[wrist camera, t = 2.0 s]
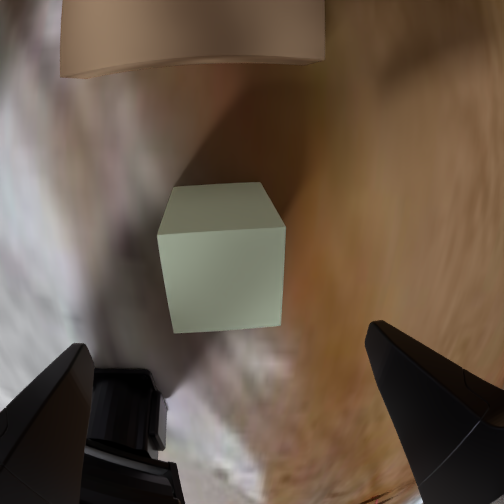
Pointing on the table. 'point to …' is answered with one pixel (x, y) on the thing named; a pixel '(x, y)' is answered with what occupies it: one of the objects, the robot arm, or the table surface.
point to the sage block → (222, 257)
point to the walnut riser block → (187, 34)
